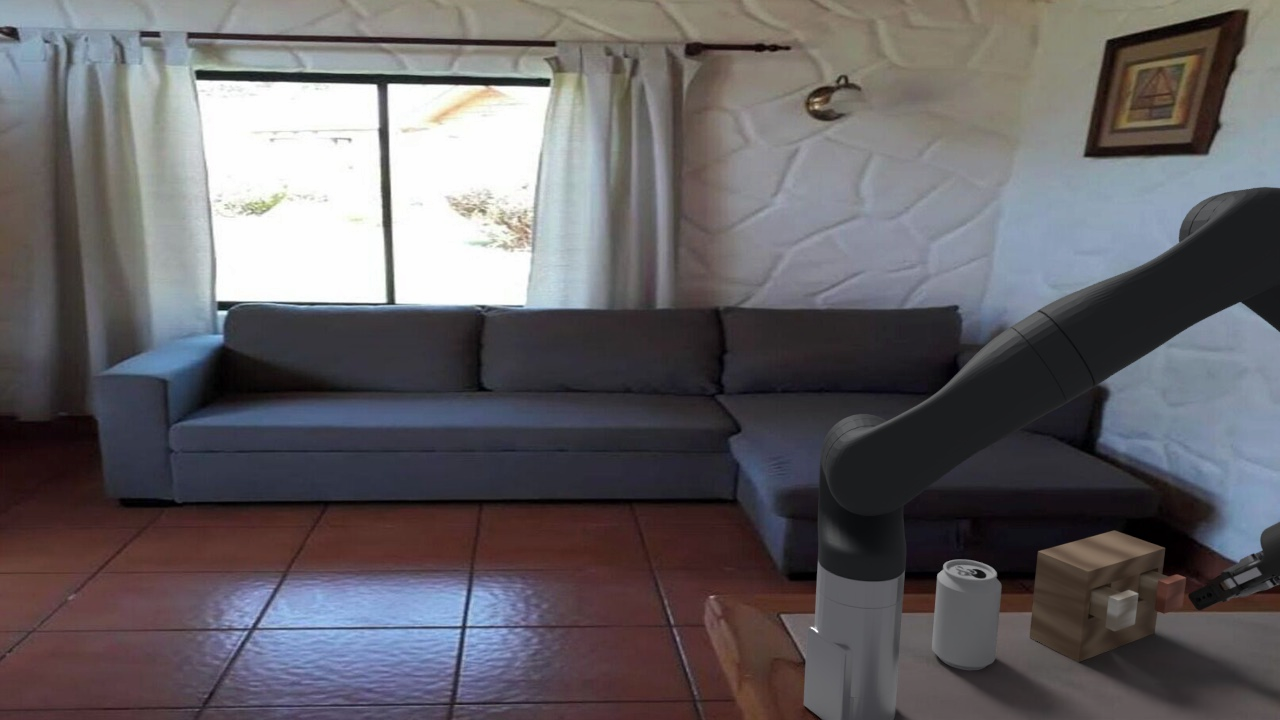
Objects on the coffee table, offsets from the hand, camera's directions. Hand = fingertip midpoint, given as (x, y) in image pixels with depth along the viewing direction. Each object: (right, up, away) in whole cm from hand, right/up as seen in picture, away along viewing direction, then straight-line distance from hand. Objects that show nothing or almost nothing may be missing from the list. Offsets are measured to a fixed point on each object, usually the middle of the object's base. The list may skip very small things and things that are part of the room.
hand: (1195, 601), depth 108 cm
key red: (-4, -1, +6) cm, 7 cm away
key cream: (-12, -2, +1) cm, 13 cm away
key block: (-9, -6, +7) cm, 13 cm away
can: (-29, -7, +1) cm, 30 cm away
